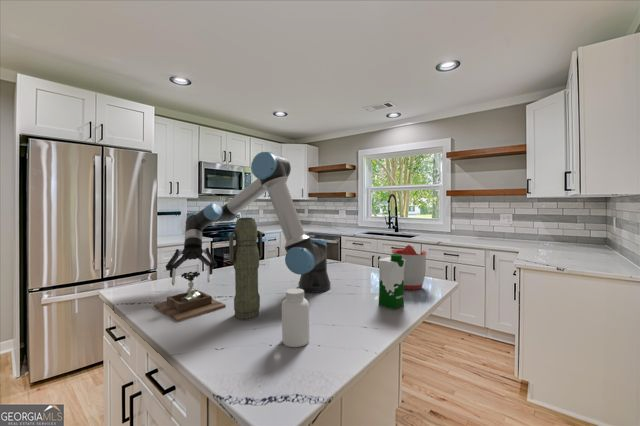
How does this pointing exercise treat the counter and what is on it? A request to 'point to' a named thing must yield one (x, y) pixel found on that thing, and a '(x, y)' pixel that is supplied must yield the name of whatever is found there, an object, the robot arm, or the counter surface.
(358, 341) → the counter surface
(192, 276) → the valve
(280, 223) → the robot arm
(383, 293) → the milk carton
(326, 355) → the counter surface
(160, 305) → the dock board
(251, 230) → the thermos
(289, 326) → the pill bottle
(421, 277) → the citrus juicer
